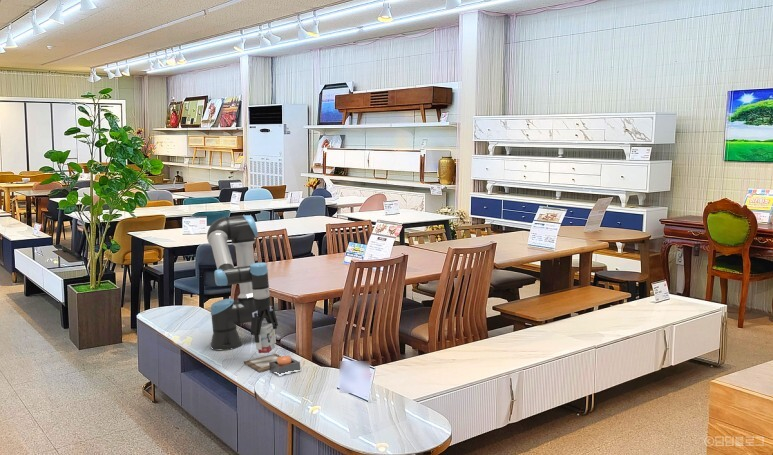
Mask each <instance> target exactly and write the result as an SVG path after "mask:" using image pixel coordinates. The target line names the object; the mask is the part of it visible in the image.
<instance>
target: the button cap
mask: <svg viewBox="0 0 773 455" xmlns="http://www.w3.org/2000/svg"><path fill="white" fill-rule="evenodd" d="M280 356H281V357H278V358H277V364H278V365H280V366H282V365H286V364H290V363H291V358H292V356H291V355H280Z"/></svg>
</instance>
